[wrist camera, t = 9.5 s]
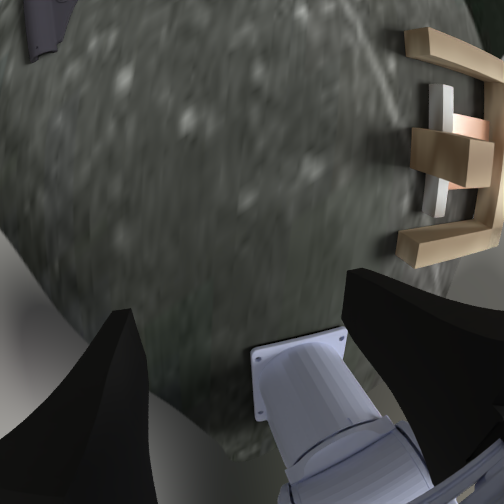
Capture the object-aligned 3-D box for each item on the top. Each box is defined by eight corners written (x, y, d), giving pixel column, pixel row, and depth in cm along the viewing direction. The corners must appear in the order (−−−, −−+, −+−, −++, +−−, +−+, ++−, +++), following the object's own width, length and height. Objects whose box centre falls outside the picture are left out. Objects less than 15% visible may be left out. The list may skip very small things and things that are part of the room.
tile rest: (480, 236, 26) (497, 246, 24) (395, 254, 23) (414, 268, 21) (494, 65, 19) (514, 67, 16) (403, 31, 16) (428, 26, 14)
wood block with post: (431, 210, 23) (481, 235, 18) (405, 213, 22) (456, 241, 17) (439, 86, 18) (495, 91, 14) (411, 79, 18) (470, 81, 13)
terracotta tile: (472, 183, 24) (484, 187, 22) (430, 184, 22) (443, 189, 21) (477, 118, 21) (489, 121, 20) (434, 110, 20) (448, 112, 18)
